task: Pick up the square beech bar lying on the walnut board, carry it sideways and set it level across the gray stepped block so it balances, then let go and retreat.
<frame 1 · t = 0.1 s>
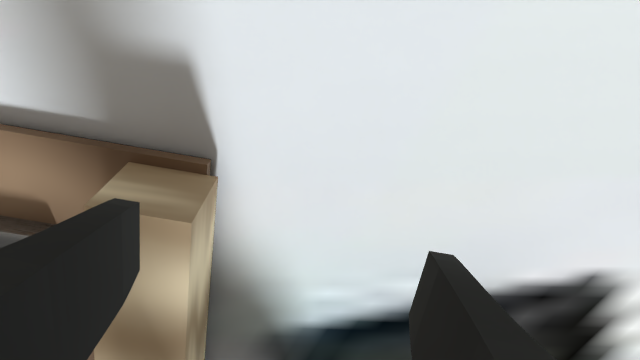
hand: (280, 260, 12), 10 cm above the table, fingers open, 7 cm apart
beech bar: (170, 284, 24), point 1 cm above the table, touching board
gray stepped block: (29, 253, 25), resting on board
board: (97, 264, 25), on the table
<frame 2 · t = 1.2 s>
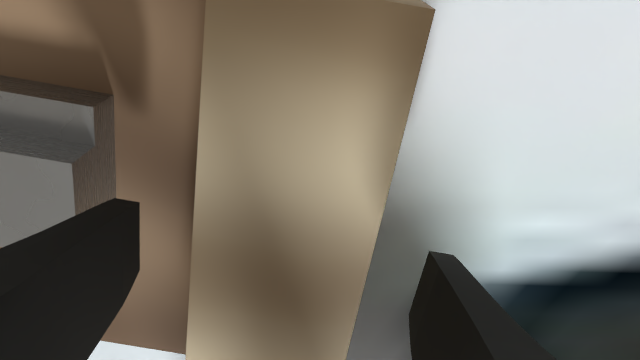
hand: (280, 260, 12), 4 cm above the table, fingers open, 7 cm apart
beech bar: (293, 204, 15), point 1 cm above the table, touching board
gray stepped block: (60, 155, 15), resting on board
board: (171, 174, 15), on the table
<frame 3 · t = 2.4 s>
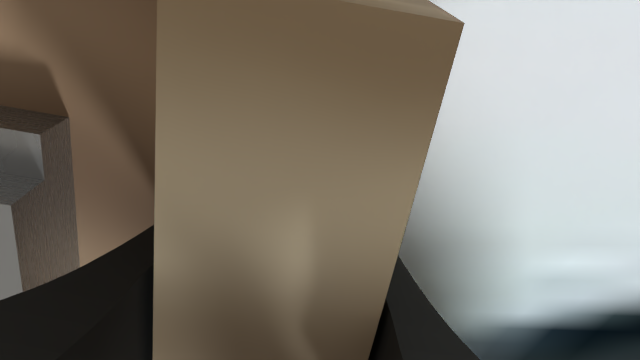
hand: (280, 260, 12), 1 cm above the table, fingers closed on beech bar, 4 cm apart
beech bar: (284, 242, 13), point 1 cm above the table, touching board, gripper
gray stepped block: (13, 184, 13), resting on board
board: (141, 206, 13), on the table
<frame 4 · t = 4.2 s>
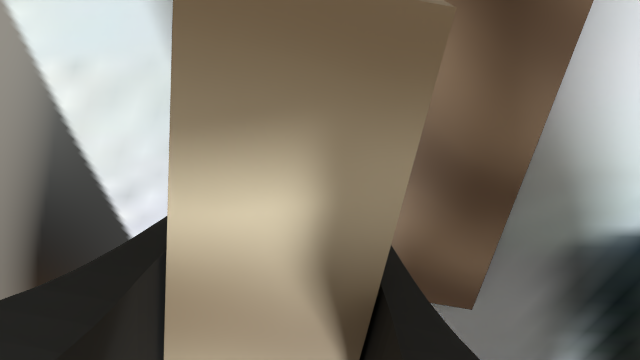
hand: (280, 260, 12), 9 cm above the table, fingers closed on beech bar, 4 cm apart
beech bar: (287, 224, 13), point 7 cm above the table, touching gripper
board: (390, 149, 20), on the table
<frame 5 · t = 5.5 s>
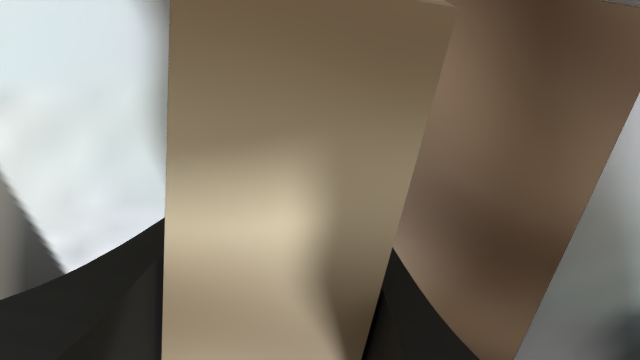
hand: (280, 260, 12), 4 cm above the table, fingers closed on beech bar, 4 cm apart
beech bar: (286, 227, 13), point 3 cm above the table, touching gripper, gray stepped block
board: (401, 201, 16), on the table
when the fingers open (4 cm above the table, at t = 6.0 s): beech bar stays where it is, resting on gray stepped block.
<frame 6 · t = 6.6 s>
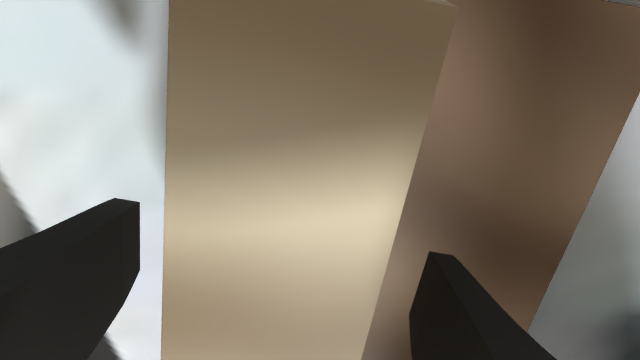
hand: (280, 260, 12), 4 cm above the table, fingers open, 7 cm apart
beech bar: (286, 227, 13), point 3 cm above the table, touching gray stepped block
board: (401, 201, 16), on the table
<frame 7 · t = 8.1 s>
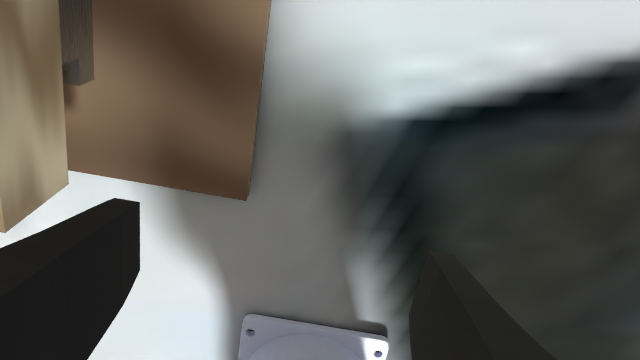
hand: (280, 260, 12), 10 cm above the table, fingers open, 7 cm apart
beech bar: (3, 10, 17), point 3 cm above the table, touching gray stepped block
gray stepped block: (51, 8, 20), resting on board
board: (135, 23, 20), on the table
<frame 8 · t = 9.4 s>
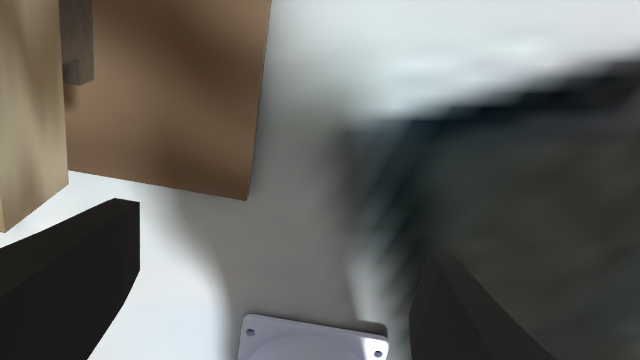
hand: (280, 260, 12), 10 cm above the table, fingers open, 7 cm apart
beech bar: (3, 10, 17), point 3 cm above the table, touching gray stepped block
gray stepped block: (51, 8, 20), resting on board
board: (135, 23, 20), on the table
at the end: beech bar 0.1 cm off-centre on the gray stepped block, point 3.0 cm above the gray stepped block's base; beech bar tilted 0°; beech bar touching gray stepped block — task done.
